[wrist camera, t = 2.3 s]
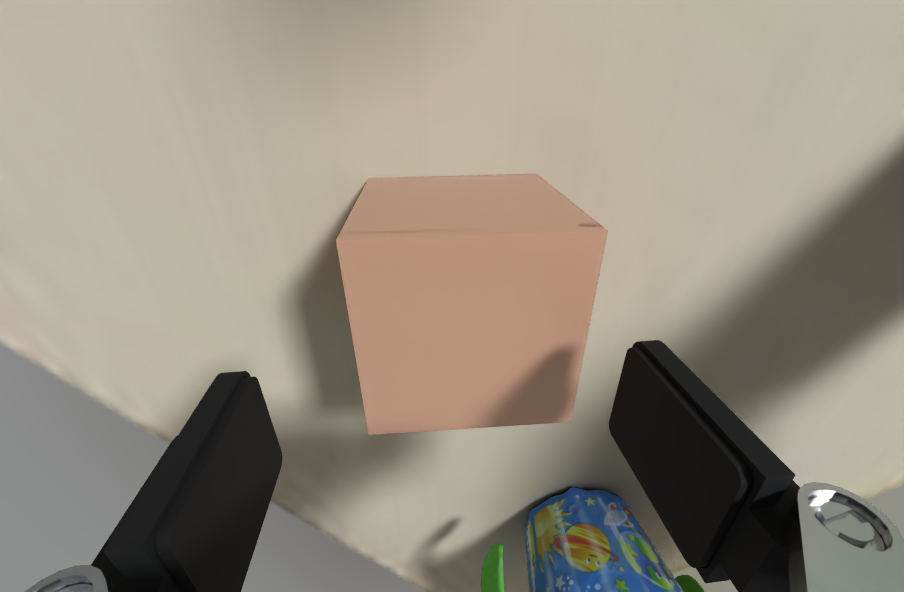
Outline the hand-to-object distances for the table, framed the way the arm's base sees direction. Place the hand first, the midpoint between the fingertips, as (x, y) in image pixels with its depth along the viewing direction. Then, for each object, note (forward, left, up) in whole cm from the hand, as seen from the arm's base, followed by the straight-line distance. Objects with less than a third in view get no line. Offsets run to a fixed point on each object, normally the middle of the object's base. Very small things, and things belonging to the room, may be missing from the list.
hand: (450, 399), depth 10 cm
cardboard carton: (-1, -1, -9) cm, 9 cm away
